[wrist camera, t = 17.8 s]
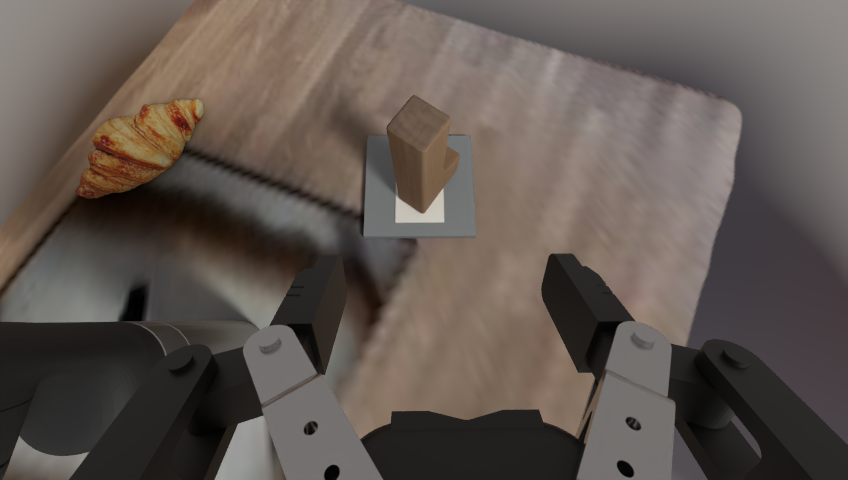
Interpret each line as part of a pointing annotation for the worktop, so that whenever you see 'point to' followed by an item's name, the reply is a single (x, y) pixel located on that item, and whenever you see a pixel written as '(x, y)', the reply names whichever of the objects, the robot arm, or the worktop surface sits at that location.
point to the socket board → (400, 220)
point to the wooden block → (421, 152)
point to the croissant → (138, 147)
